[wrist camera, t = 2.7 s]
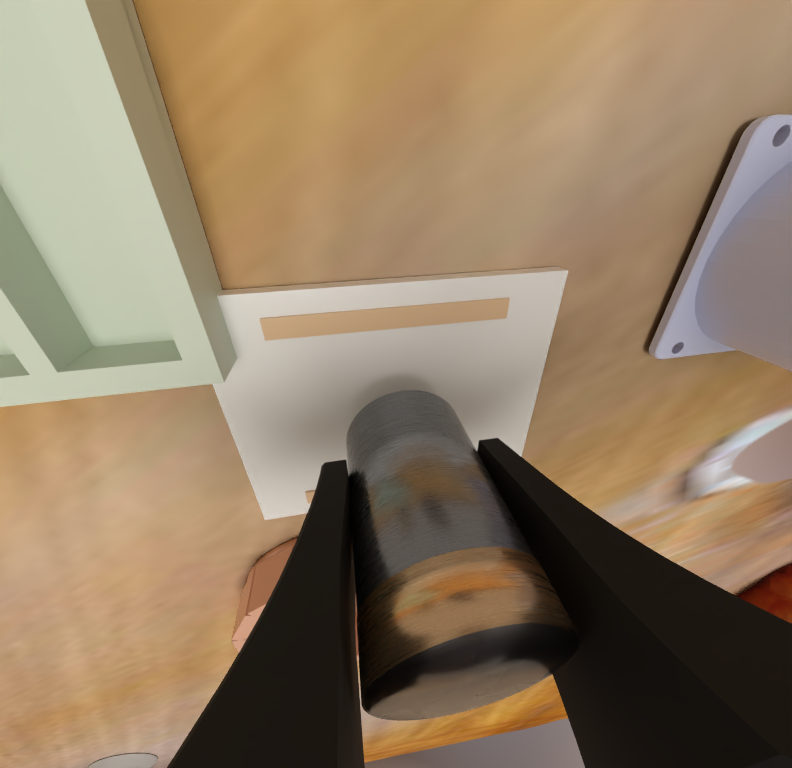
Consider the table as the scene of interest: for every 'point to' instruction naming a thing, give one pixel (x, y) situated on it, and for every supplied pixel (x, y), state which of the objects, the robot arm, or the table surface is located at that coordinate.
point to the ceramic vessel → (773, 593)
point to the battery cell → (441, 569)
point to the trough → (96, 216)
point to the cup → (262, 592)
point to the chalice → (126, 761)
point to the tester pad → (378, 364)
